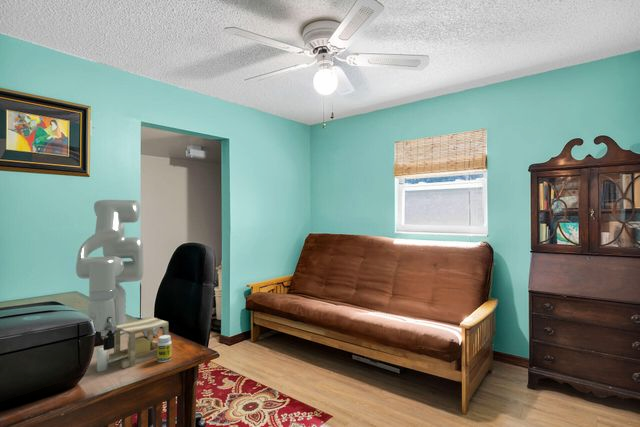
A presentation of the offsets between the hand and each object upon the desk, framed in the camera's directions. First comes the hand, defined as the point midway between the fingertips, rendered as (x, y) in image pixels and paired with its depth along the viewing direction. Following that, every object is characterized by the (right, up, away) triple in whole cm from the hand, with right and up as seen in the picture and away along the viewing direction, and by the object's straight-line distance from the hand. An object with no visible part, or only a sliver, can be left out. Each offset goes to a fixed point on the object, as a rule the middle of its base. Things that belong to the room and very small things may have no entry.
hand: (102, 346), depth 117 cm
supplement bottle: (+17, -8, +8) cm, 21 cm away
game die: (+1, -9, +32) cm, 33 cm away
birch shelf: (+7, -8, +12) cm, 16 cm away
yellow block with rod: (+4, -8, +6) cm, 11 cm away
